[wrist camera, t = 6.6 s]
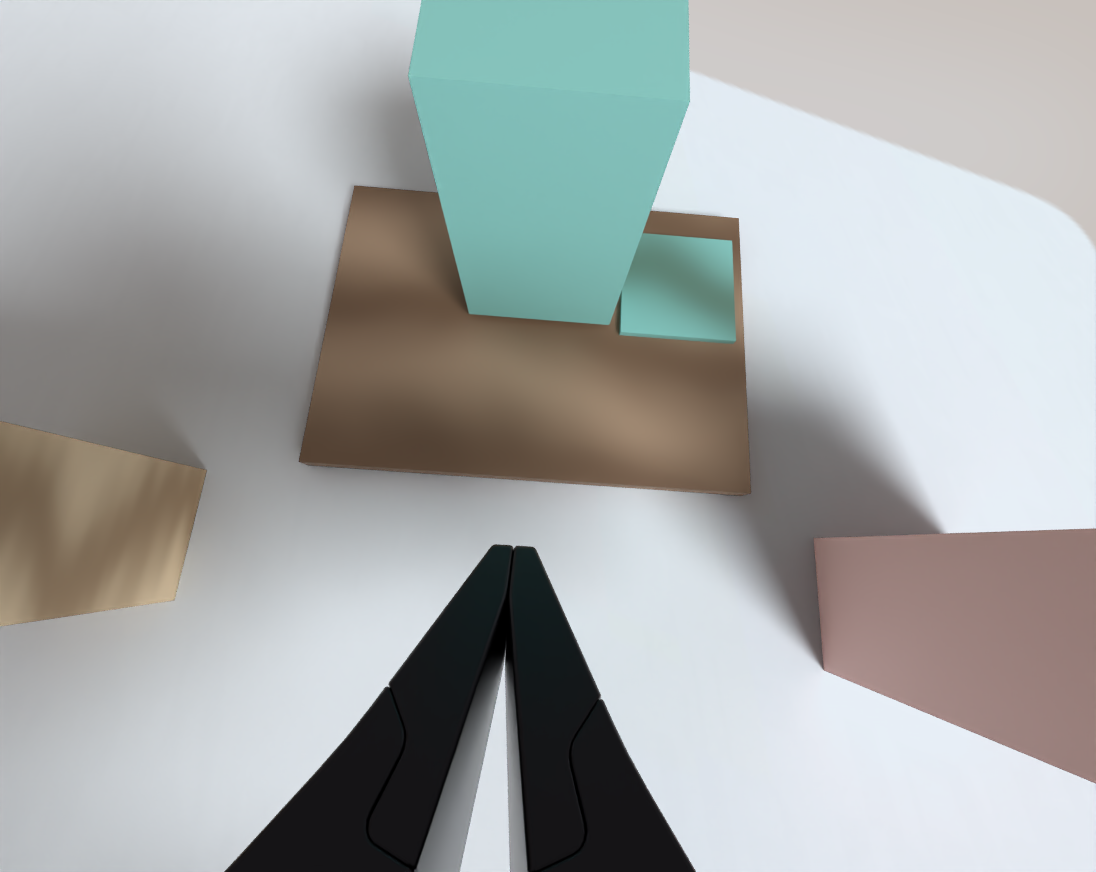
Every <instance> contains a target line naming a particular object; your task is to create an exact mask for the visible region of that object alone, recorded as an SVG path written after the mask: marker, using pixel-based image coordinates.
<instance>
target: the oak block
mask: <svg viewBox="0 0 1096 872" xmlns="http://www.w3.org/2000/svg"><path fill="white" fill-rule="evenodd" d="M206 472H207V470H204V469H199V468H195V467H191V466H187V465H183V464H178V463H174V462H170V461H166V460H162V459H157V458H153V457H149V456H145V455H141V454H136V453H132V452H128V451H124V450H120V449H115V448H111V447H107V446H103V445H99V444H94V443H90V442H86V441H82V440H78V439H73V438H69V437H65V436H61V435H57V434H52V433H48V432H44V431H40V430H36V429H31V428H27V427H23V426H19V425H15V424H10V423H6V422H2V421H0V626H6V625H13V624H20V623H26V622H33V621H40V620H46V619H53V618H60V617H66V616H73V615H80V614H86V613H93V612H100V611H106V610H113V609H120V608H126V607H133V606H140V605H146V604H153V603H160V602H166V601H173V600H175V596H176V592H177V588H178V584H179V580H180V576H181V572H182V568H183V564H184V560H185V556H186V552H187V548H188V544H189V540H190V536H191V532H192V528H193V524H194V520H195V516H196V512H197V508H198V504H199V500H200V496H201V492H202V488H203V484H204V480H205V476H206Z"/></svg>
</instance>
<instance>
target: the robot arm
mask: <svg viewBox="0 0 1096 872" xmlns="http://www.w3.org/2000/svg"><path fill="white" fill-rule="evenodd" d="M505 651H506V655H505ZM504 659H505V688H506V729H507V770H508V810H509V851H510V872H696V871H695V869H694V867H693V866H692V864H691V862H690V861H689V859H688V857H687V855H686V854H685V852H684V850H683V849H682V847H681V845H680V843H679V842H678V840H677V838H676V837H675V835H674V833H673V831H672V830H671V828H670V826H669V825H668V823H667V821H666V820H665V818H664V816H663V814H662V813H661V811H660V809H659V808H658V806H657V804H656V802H655V801H654V799H653V797H652V796H651V794H650V792H649V790H648V789H647V787H646V785H645V783H644V781H643V779H642V778H641V776H640V774H639V772H638V770H637V769H636V767H635V765H634V763H633V761H632V759H631V758H630V756H629V754H628V752H627V750H626V748H625V746H624V744H623V742H622V740H621V737H620V735H619V733H618V731H617V729H616V727H615V725H614V723H613V721H612V719H611V716H610V714H609V712H608V710H607V707H606V705H605V703H604V701H603V700H602V699H601V694H600V692H599V690H598V688H597V685H596V683H595V681H594V679H593V676H592V674H591V672H590V670H589V667H588V665H587V663H586V661H585V658H584V656H583V654H582V652H581V649H580V647H579V645H578V643H577V640H576V638H575V636H574V634H573V631H572V629H571V627H570V625H569V622H568V620H567V618H566V616H565V613H564V611H563V609H562V607H561V604H560V602H559V600H558V598H557V596H556V593H555V591H554V589H553V587H552V584H551V582H550V580H549V578H548V575H547V573H546V571H545V569H544V566H543V564H542V562H541V560H540V557H539V555H538V553H537V551H536V549H535V548H534V547H527V546H516V547H515V548H514V549H513V547H512V546H511V545H497V544H495V545H493V546H492V547H491V548H490V549H489V550H488V552H487V553H486V554H485V556H484V557H483V558H482V560H481V561H480V562H479V564H478V565H477V566H476V567H475V569H474V570H473V571H472V573H471V574H470V575H469V577H468V578H467V579H466V581H465V582H464V583H463V585H462V586H461V587H460V589H459V590H458V591H457V593H456V594H455V595H454V597H453V598H452V599H451V601H450V602H449V603H448V605H447V606H446V607H445V609H444V610H443V611H442V613H441V614H440V615H439V617H438V618H437V619H436V621H435V622H434V623H433V625H432V626H431V627H430V629H429V630H428V631H427V633H426V634H425V635H424V637H423V638H422V639H421V641H420V642H419V643H418V645H417V646H416V647H415V649H414V650H413V651H412V653H411V654H410V655H409V657H408V658H407V659H406V661H405V662H404V663H403V665H402V666H401V667H400V669H399V670H398V671H397V673H396V674H395V675H394V677H393V678H392V679H391V681H390V682H389V687H385V688H384V690H383V691H382V692H381V694H380V695H379V696H378V698H377V699H376V700H375V702H374V703H373V704H372V706H371V707H370V708H369V709H368V711H367V712H366V713H365V714H364V716H363V717H362V718H361V719H360V721H359V722H358V723H357V724H356V726H355V727H354V728H353V730H352V731H351V732H350V733H349V735H348V736H347V737H346V738H345V739H344V741H343V742H342V743H341V744H340V745H339V746H338V747H337V749H336V750H335V751H334V752H333V753H332V754H331V755H330V757H329V758H328V759H327V760H326V761H325V762H324V763H323V764H322V766H321V767H320V768H319V769H318V770H317V771H316V772H315V774H314V775H313V776H312V777H311V778H310V779H309V780H308V781H307V782H306V783H305V784H304V786H303V787H302V788H301V789H300V790H299V791H298V792H297V793H296V794H295V795H294V796H293V798H292V799H291V800H290V801H289V802H288V803H287V804H286V805H285V806H284V807H283V808H282V810H281V811H280V812H279V813H278V814H277V815H276V816H275V817H274V818H273V819H272V821H271V822H270V823H269V824H268V825H267V826H266V827H265V828H264V829H263V830H262V831H261V833H260V834H259V835H258V836H257V837H256V838H255V839H254V840H253V841H252V842H251V843H250V845H249V846H248V847H247V848H246V849H245V850H244V851H243V852H242V853H241V854H240V855H239V857H238V858H237V859H236V860H235V861H234V862H233V863H232V864H231V865H230V866H229V867H228V868H227V869H226V870H225V871H224V872H460V867H461V862H462V858H463V853H464V848H465V844H466V839H467V834H468V830H469V825H470V820H471V816H472V811H473V806H474V802H475V797H476V792H477V788H478V783H479V778H480V774H481V769H482V764H483V760H484V755H485V750H486V746H487V741H488V736H489V732H490V727H491V722H492V718H493V713H494V708H495V704H496V699H497V694H498V690H499V685H500V680H501V676H502V670H503V665H504Z"/></svg>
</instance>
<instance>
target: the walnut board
mask: <svg viewBox="0 0 1096 872" xmlns="http://www.w3.org/2000/svg"><path fill="white" fill-rule="evenodd" d="M299 462H301V463H304V464H306V465H312V466H326V467H340V468H355V469H369V470H383V471H397V472H412V473H426V474H440V475H454V476H469V477H483V478H497V479H511V480H526V481H540V482H554V483H568V484H583V485H597V486H611V487H625V488H640V489H654V490H668V491H682V492H697V493H711V494H725V495H739V496H743V495H747V494H751V485H750V462H749V440H748V417H747V395H746V372H745V350H744V327H743V305H742V282H741V260H740V237H739V218H729V217H717V216H706V215H694V214H682V213H670V212H659V211H650V213H649V216H648V219H647V222H646V224H645V227H644V230H643V233H642V236H641V238H640V241H639V244H638V247H637V249H636V252H635V255H634V258H633V261H632V263H631V266H630V269H629V272H628V274H627V277H626V280H625V283H624V285H623V288H622V291H621V294H620V297H619V299H618V302H617V305H616V308H615V310H614V313H613V316H612V319H611V322H610V324H609V325H602V324H590V323H577V322H564V321H552V320H539V319H526V318H514V317H501V316H488V315H475V314H469V311H468V307H467V303H466V300H465V296H464V292H463V288H462V284H461V280H460V276H459V272H458V268H457V264H456V261H455V257H454V253H453V249H452V245H451V241H450V237H449V233H448V229H447V225H446V222H445V218H444V214H443V210H442V206H441V202H440V198H439V194H438V193H435V192H423V191H412V190H400V189H388V188H376V187H365V186H354V191H353V195H352V200H351V205H350V210H349V215H348V220H347V225H346V230H345V235H344V240H343V245H342V250H341V255H340V260H339V265H338V270H337V275H336V280H335V285H334V290H333V294H332V299H331V304H330V309H329V314H328V319H327V324H326V329H325V334H324V339H323V344H322V349H321V354H320V359H319V364H318V369H317V374H316V379H315V384H314V389H313V393H312V398H311V403H310V408H309V413H308V418H307V423H306V428H305V433H304V438H303V443H302V448H301V453H300V458H299Z"/></svg>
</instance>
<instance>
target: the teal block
mask: <svg viewBox="0 0 1096 872" xmlns="http://www.w3.org/2000/svg"><path fill="white" fill-rule="evenodd" d="M408 77H409V81H410V85H411V89H412V93H413V97H414V101H415V104H416V108H417V112H418V116H419V120H420V124H421V128H422V132H423V136H424V140H425V144H426V147H427V151H428V155H429V159H430V163H431V167H432V171H433V175H434V179H435V183H436V186H437V190H438V194H439V198H440V202H441V206H442V210H443V214H444V218H445V222H446V225H447V229H448V233H449V237H450V241H451V245H452V249H453V253H454V257H455V261H456V264H457V268H458V272H459V276H460V280H461V284H462V288H463V292H464V296H465V300H466V303H467V307H468V311H469V314H475V315H488V316H501V317H514V318H526V319H539V320H552V321H564V322H577V323H590V324H602V325H609V324H610V322H611V319H612V316H613V313H614V310H615V308H616V305H617V302H618V299H619V297H620V294H621V291H622V288H623V285H624V283H625V280H626V277H627V274H628V272H629V269H630V266H631V263H632V261H633V258H634V255H635V252H636V249H637V247H638V244H639V241H640V238H641V236H642V233H643V230H644V227H645V224H646V222H647V219H648V216H649V213H650V211H651V208H652V205H653V202H654V199H655V197H656V194H657V191H658V188H659V186H660V183H661V180H662V177H663V174H664V172H665V169H666V166H667V163H668V161H669V158H670V155H671V152H672V149H673V147H674V144H675V141H676V138H677V136H678V133H679V130H680V127H681V125H682V122H683V119H684V116H685V113H686V111H687V108H688V105H689V102H690V78H689V13H688V0H422V1H421V7H420V13H419V18H418V24H417V29H416V35H415V40H414V46H413V51H412V57H411V63H410V68H409V74H408Z"/></svg>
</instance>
